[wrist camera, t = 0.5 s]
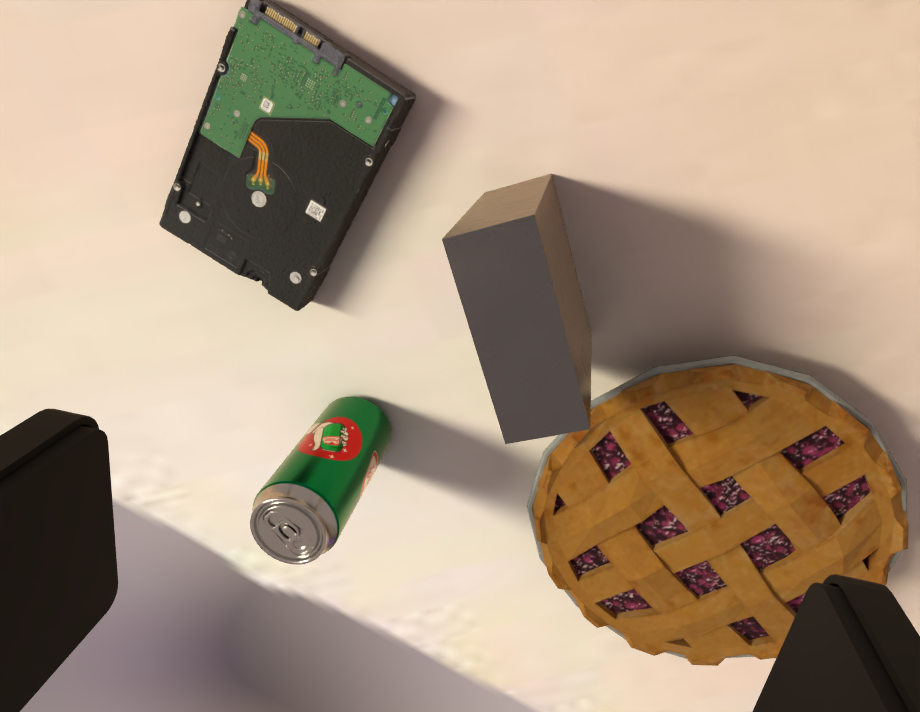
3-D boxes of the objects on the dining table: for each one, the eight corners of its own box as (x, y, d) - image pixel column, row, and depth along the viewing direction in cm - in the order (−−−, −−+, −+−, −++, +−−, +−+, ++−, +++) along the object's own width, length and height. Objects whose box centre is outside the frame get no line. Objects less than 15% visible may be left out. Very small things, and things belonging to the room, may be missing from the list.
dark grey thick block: (551, 173, 38) (534, 214, 27) (591, 334, 41) (590, 429, 30) (484, 192, 39) (441, 239, 28) (528, 348, 42) (505, 444, 31)
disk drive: (318, 300, 44) (421, 92, 38) (300, 315, 42) (408, 94, 35) (181, 218, 44) (261, -8, 37) (155, 227, 41) (237, -13, 35)
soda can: (362, 469, 48) (294, 585, 37) (310, 421, 47) (225, 525, 36) (408, 429, 46) (351, 539, 35) (355, 379, 45) (279, 475, 34)
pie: (470, 474, 47) (456, 517, 42) (733, 266, 38) (752, 292, 34) (676, 668, 50) (684, 727, 45) (961, 516, 41) (1007, 571, 37)
